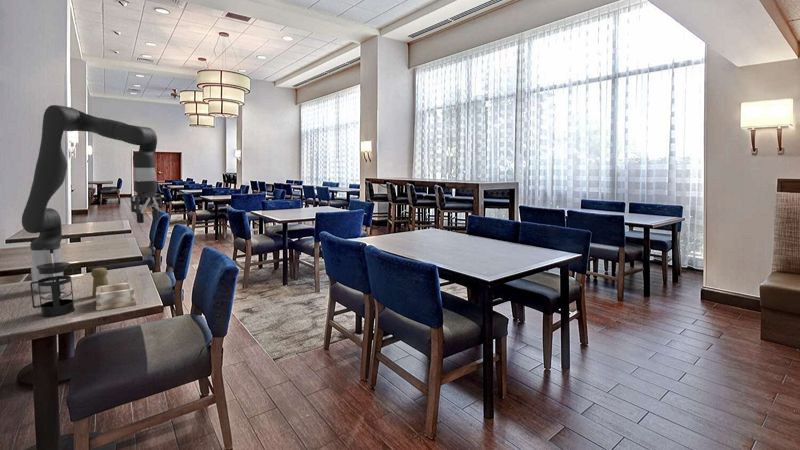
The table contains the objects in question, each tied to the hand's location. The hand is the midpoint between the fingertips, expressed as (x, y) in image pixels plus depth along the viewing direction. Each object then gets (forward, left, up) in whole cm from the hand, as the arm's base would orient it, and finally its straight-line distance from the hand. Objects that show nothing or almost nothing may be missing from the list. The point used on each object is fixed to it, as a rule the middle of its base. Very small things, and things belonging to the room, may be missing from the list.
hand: (148, 221), depth 164 cm
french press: (-19, -24, -30) cm, 42 cm away
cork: (-19, -4, -30) cm, 35 cm away
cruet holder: (-7, -11, -29) cm, 32 cm away
